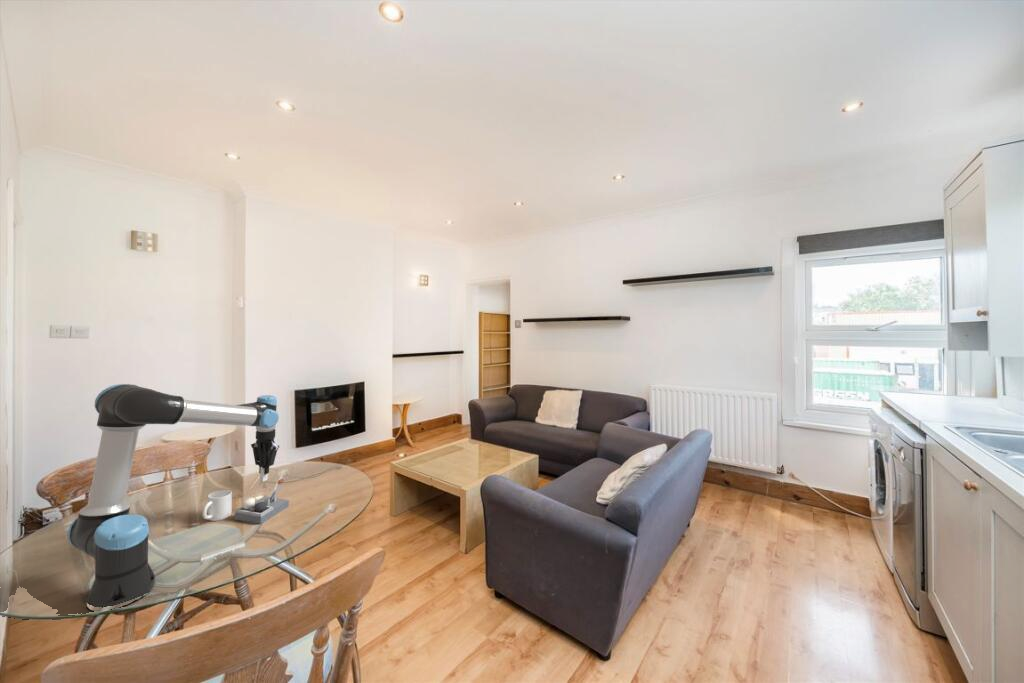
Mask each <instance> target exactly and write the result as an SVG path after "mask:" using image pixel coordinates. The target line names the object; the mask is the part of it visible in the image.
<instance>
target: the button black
mask: <svg viewBox="0 0 1024 683" xmlns="http://www.w3.org/2000/svg"><path fill="white" fill-rule="evenodd" d="M265 510H267V503H266V502H259V503H256V504H255V512H257V513H262V512H264V511H265Z"/></svg>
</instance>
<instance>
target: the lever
mask: <svg viewBox="0 0 1024 683" xmlns="http://www.w3.org/2000/svg"><path fill="white" fill-rule="evenodd" d="M284 482H285V480H284V478H280V479H278V481H277V483H276V486H275V487H274V490H273V492H272V494H271V495H270V496H269V497H270V502H272V501H273V498H274V496H275V495H276V496H277V493H278V491H279V489H280V488H281V485H282V484H283V483H284Z"/></svg>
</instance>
